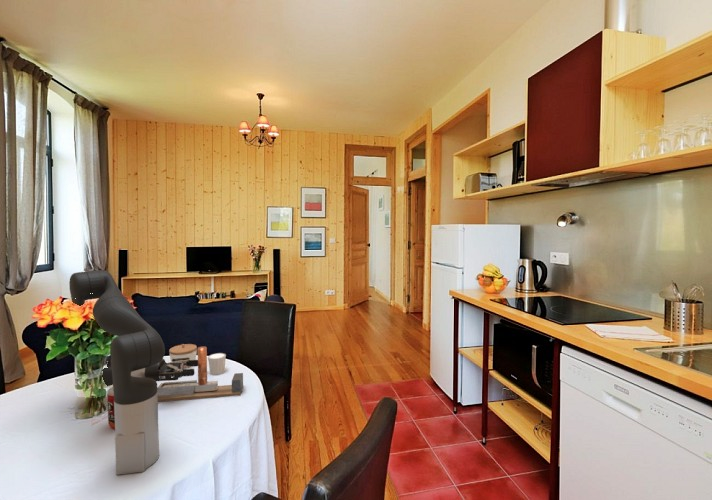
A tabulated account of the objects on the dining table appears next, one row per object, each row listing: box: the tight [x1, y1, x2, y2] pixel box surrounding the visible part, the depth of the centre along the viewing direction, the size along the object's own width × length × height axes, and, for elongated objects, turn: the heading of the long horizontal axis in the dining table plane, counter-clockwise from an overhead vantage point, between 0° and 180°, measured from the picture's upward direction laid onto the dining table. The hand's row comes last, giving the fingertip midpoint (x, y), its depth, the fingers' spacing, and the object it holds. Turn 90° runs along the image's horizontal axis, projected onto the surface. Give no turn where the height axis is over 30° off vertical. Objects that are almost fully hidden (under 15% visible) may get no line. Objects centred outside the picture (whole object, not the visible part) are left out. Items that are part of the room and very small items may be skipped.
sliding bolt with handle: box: [163, 346, 219, 392], centre depth 121 cm, size 3×18×16 cm, turn 101°
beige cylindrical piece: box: [207, 352, 227, 376], centre depth 141 cm, size 7×7×7 cm
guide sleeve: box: [157, 379, 198, 398], centre depth 120 cm, size 5×12×3 cm, turn 101°
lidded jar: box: [168, 343, 198, 363], centre depth 147 cm, size 11×11×9 cm
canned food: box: [106, 386, 115, 430], centre depth 104 cm, size 8×8×11 cm
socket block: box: [231, 372, 244, 393], centre depth 124 cm, size 6×3×4 cm, turn 11°
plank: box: [158, 384, 244, 403], centre depth 122 cm, size 7×28×1 cm, turn 101°
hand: (197, 367), depth 121 cm, fingers open, 8 cm apart
